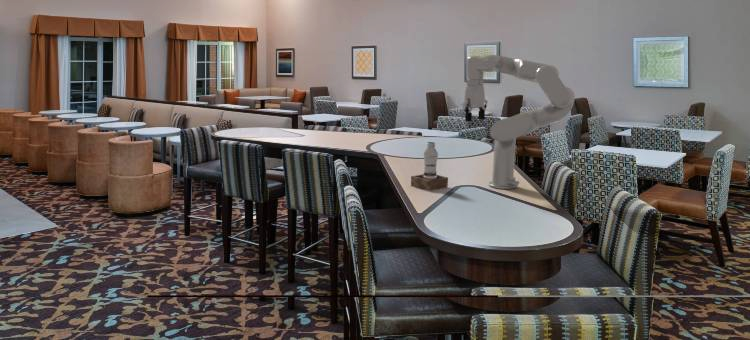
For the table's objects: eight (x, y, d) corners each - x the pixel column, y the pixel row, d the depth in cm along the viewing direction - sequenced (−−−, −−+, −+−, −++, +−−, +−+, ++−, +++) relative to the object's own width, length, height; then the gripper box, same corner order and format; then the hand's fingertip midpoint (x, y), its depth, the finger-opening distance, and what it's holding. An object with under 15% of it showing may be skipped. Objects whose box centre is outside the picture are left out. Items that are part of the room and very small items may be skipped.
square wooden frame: (447, 187, 265) (447, 177, 264) (428, 190, 258) (428, 180, 257) (429, 182, 275) (430, 173, 274) (410, 185, 267) (411, 176, 266)
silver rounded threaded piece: (424, 183, 270) (425, 141, 266) (438, 184, 268) (439, 142, 264) (421, 186, 264) (421, 143, 260) (435, 187, 262) (436, 144, 258)
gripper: (480, 82, 273) (480, 118, 276) (456, 84, 262) (457, 121, 265) (493, 82, 268) (493, 119, 271) (469, 84, 256) (469, 122, 259)
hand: (475, 120), depth 268 cm, fingers open, 9 cm apart
